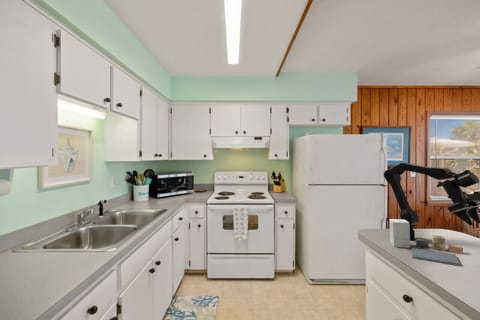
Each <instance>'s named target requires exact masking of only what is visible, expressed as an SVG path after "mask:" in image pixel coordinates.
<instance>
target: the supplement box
mask: <svg viewBox="0 0 480 320" xmlns="http://www.w3.org/2000/svg"><path fill="white" fill-rule="evenodd" d="M389 242H390V244H391V245H392V247H394V248H404V249H405V248H408V249H410V248H411V240H410V225H409V222H407V221H406V220H403V219H401V218H400V219H397V218H389Z"/></svg>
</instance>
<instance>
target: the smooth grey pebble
mask: <svg viewBox="0 0 480 320" xmlns="http://www.w3.org/2000/svg"><path fill="white" fill-rule="evenodd" d="M415 246H416V247H417V248H418V247H419V248H422V249H428V248H429V240H427V239H423V238H415Z"/></svg>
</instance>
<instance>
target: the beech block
mask: <svg viewBox="0 0 480 320" xmlns="http://www.w3.org/2000/svg"><path fill="white" fill-rule="evenodd" d="M431 238H432V240H431V241H432V243H431V244H432V251H438V252H446V237H445V236H444V235H443V236H442V235H436V234H432V237H431Z"/></svg>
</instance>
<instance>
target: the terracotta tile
mask: <svg viewBox="0 0 480 320" xmlns="http://www.w3.org/2000/svg"><path fill="white" fill-rule="evenodd" d="M447 251H448V253H452V252H453V253H452V254H460V255H464V247H463V246H462V245H457V244H449V243H448V244H447Z"/></svg>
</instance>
